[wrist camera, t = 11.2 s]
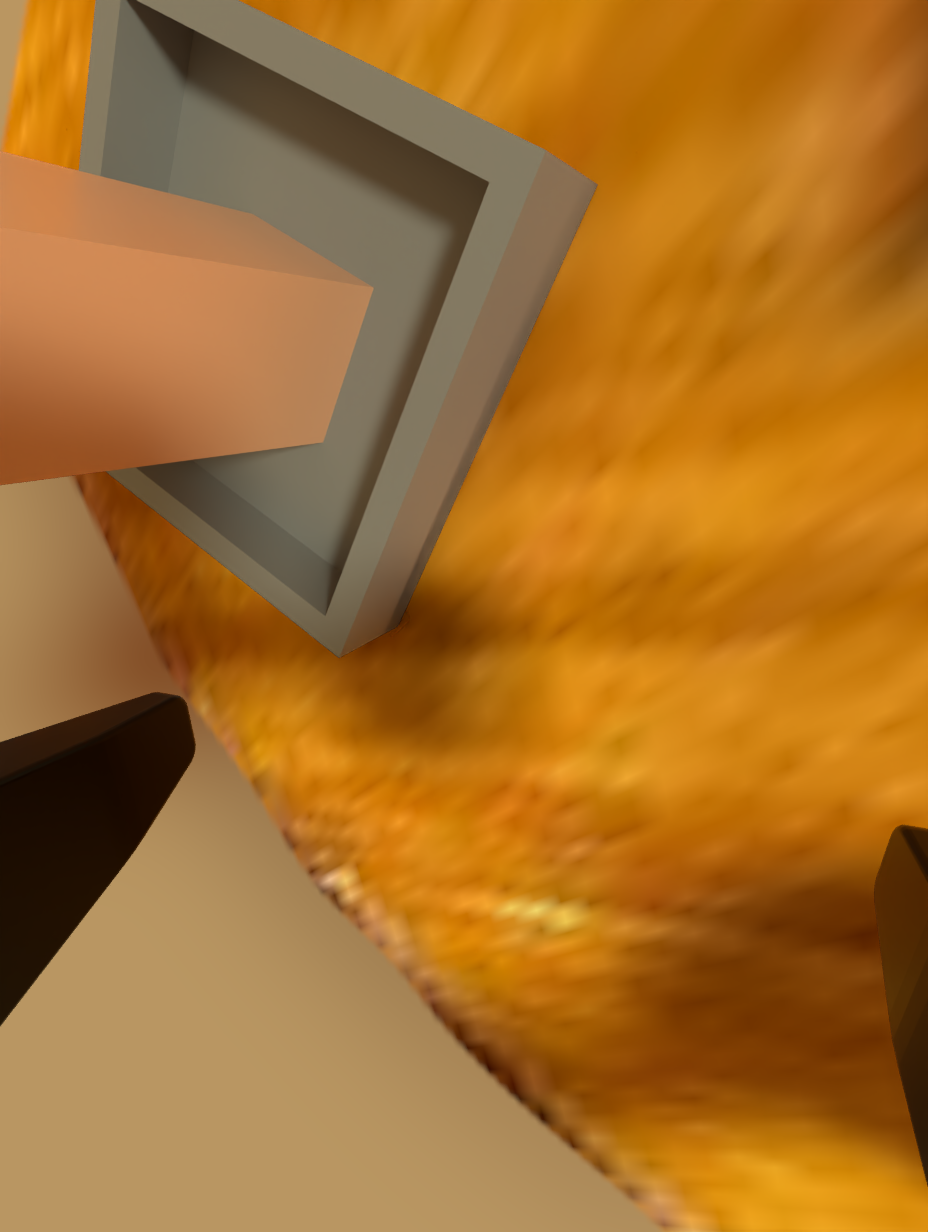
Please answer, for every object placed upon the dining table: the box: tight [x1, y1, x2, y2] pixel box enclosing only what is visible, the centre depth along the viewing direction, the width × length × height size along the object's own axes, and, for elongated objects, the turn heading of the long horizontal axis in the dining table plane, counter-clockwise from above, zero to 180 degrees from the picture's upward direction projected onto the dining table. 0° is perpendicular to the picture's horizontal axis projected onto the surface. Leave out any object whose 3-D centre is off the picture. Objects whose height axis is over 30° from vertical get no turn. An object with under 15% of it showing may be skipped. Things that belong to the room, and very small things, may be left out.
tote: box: [79, 0, 597, 658], centre depth 20 cm, size 13×13×3 cm
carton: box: [0, 151, 374, 485], centre depth 16 cm, size 5×5×11 cm
